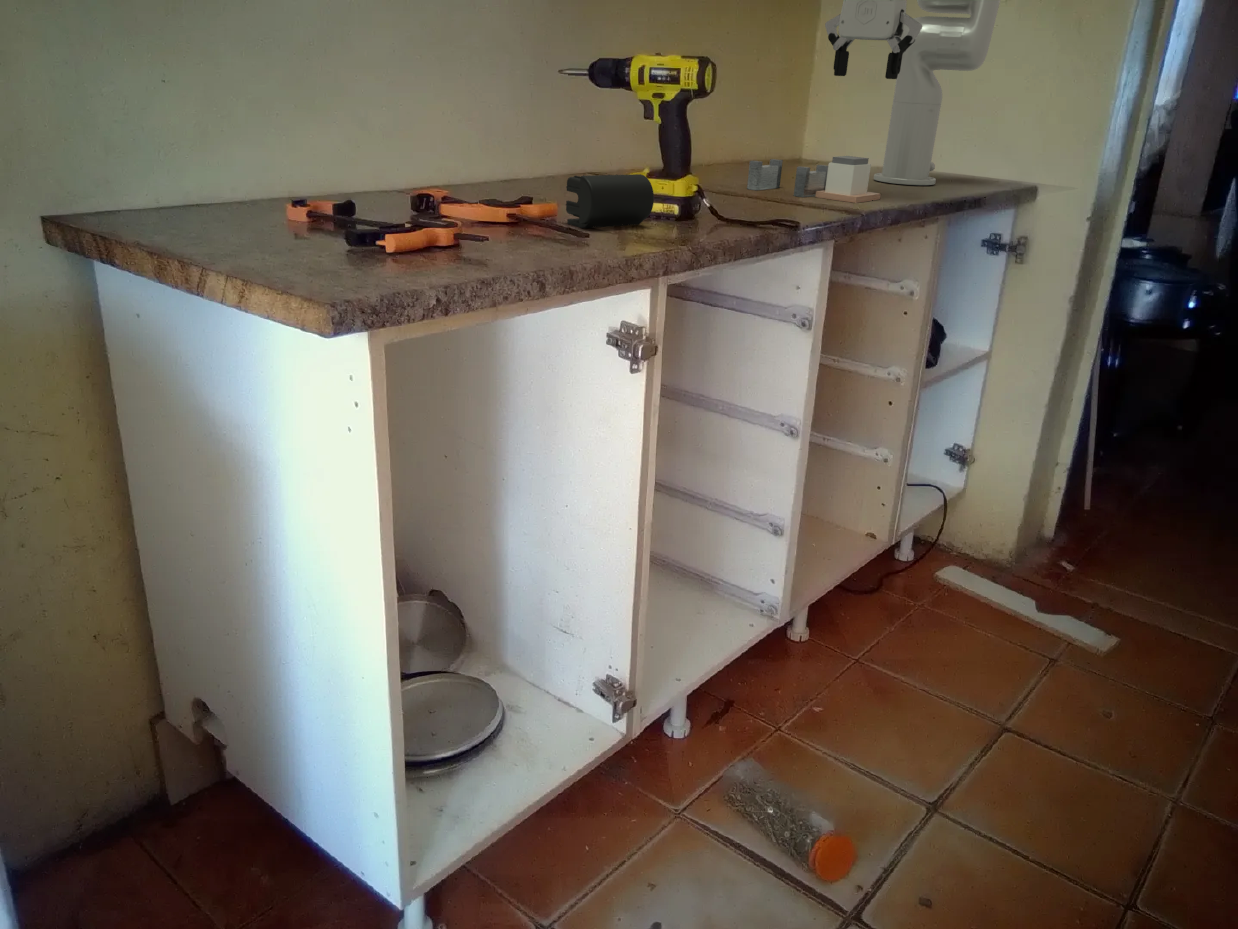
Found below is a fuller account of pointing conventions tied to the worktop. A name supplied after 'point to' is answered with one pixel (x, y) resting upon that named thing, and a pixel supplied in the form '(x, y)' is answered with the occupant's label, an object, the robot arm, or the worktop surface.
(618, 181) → the end cap
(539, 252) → the worktop surface
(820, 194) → the pad
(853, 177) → the white box with lid
